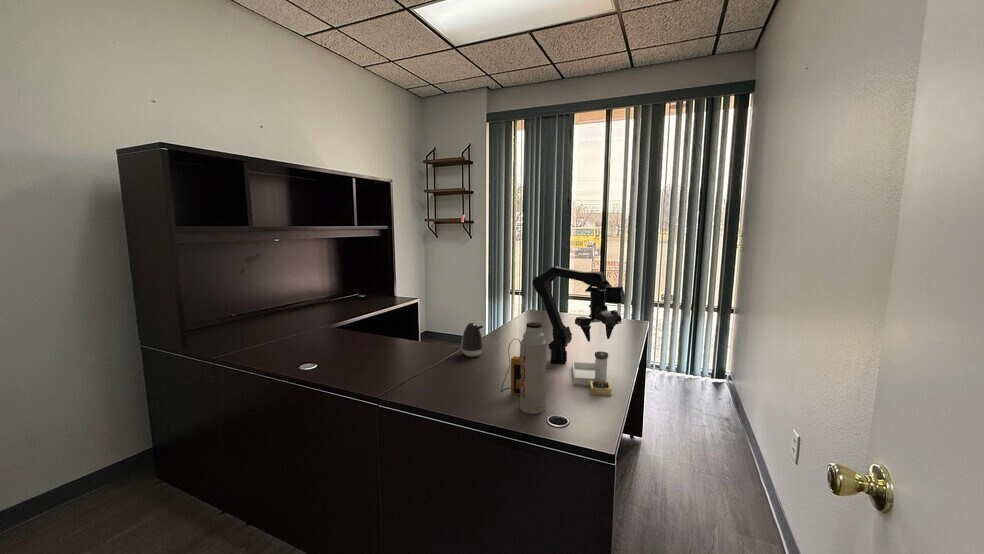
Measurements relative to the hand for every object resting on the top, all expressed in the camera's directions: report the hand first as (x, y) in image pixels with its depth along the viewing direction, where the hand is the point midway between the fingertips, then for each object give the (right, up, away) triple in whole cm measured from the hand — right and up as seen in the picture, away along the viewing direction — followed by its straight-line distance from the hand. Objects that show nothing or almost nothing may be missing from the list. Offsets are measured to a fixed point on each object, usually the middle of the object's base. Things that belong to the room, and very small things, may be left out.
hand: (598, 340), depth 161 cm
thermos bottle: (-31, -17, -34) cm, 49 cm away
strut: (-5, -15, -21) cm, 26 cm away
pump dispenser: (-53, -10, +20) cm, 57 cm away
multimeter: (-32, -15, -20) cm, 41 cm away
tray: (-7, -13, -7) cm, 17 cm away
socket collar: (-5, -15, -21) cm, 26 cm away
